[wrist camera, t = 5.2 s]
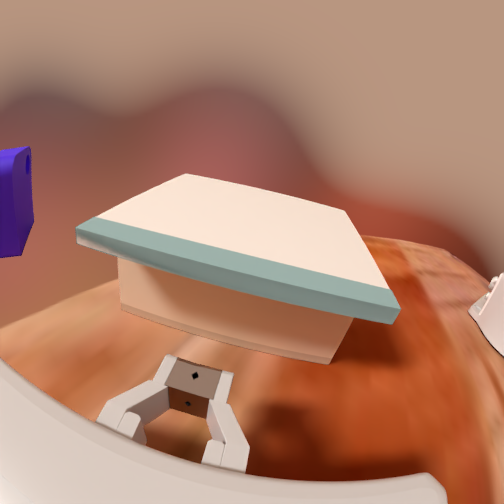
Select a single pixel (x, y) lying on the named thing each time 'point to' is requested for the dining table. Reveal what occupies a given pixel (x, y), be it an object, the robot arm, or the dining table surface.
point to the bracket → (15, 200)
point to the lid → (247, 245)
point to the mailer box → (230, 314)
